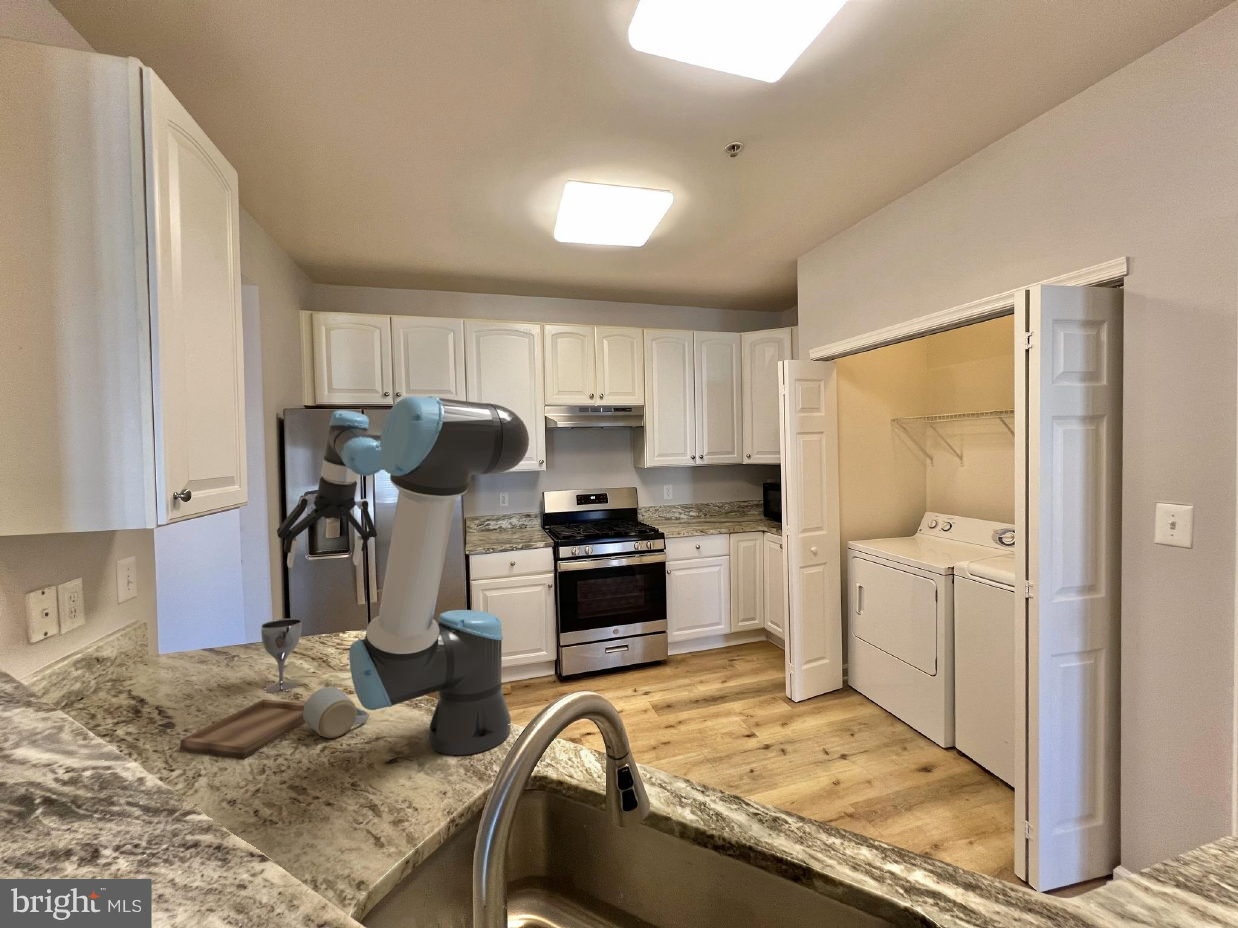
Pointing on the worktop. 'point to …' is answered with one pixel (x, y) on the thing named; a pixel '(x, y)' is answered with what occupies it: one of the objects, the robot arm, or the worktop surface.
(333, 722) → the ceramic mug
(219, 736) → the walnut tray
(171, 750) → the worktop surface
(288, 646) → the wine glass
